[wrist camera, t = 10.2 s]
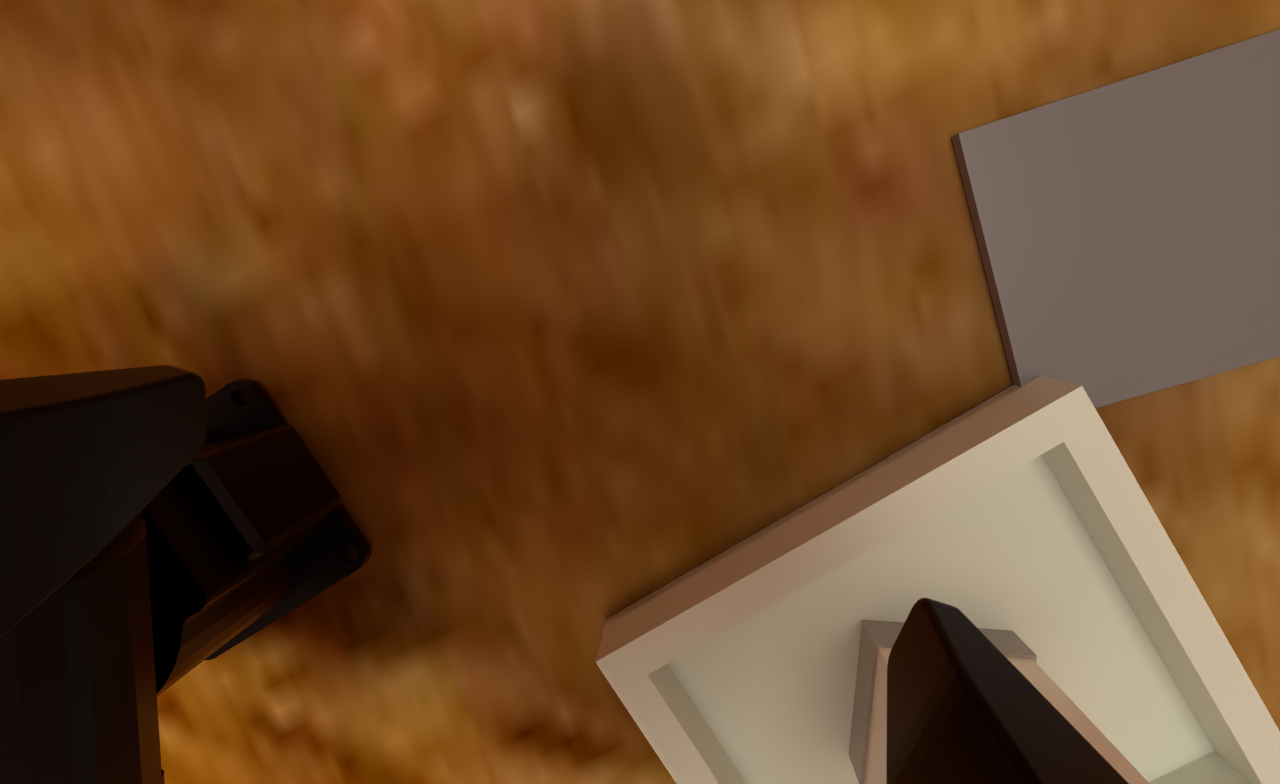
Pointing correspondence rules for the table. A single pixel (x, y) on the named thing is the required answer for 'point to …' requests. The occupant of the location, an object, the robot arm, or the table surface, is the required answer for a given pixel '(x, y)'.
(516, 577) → the table surface
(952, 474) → the parts tray
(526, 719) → the table surface
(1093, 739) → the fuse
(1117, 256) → the holder plate
